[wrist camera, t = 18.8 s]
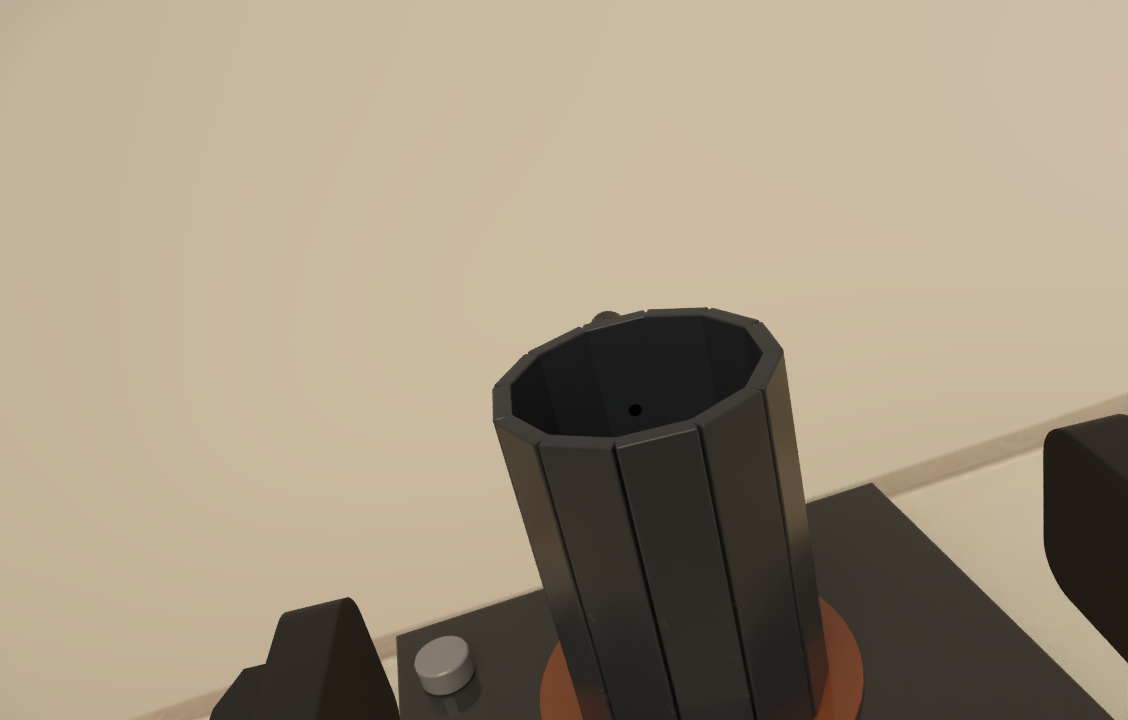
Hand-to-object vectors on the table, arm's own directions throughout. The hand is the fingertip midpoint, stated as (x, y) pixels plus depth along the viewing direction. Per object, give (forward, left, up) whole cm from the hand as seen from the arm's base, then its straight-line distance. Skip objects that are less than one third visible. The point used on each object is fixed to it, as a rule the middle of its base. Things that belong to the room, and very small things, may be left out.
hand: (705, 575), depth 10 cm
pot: (-9, +8, -11) cm, 16 cm away
